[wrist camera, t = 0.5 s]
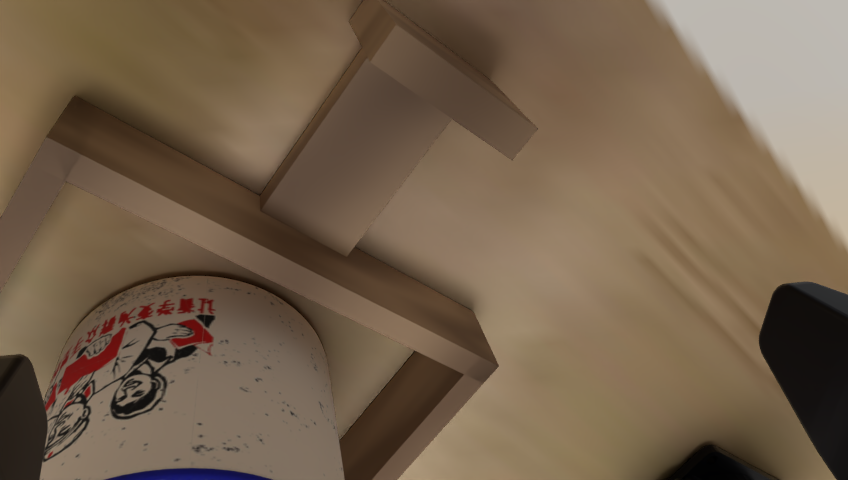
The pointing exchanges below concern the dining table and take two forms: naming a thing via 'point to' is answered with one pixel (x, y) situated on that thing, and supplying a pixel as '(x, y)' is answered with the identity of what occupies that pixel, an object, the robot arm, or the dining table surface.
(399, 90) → the tray
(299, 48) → the dining table surface
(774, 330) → the robot arm
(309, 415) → the teacup with lid
